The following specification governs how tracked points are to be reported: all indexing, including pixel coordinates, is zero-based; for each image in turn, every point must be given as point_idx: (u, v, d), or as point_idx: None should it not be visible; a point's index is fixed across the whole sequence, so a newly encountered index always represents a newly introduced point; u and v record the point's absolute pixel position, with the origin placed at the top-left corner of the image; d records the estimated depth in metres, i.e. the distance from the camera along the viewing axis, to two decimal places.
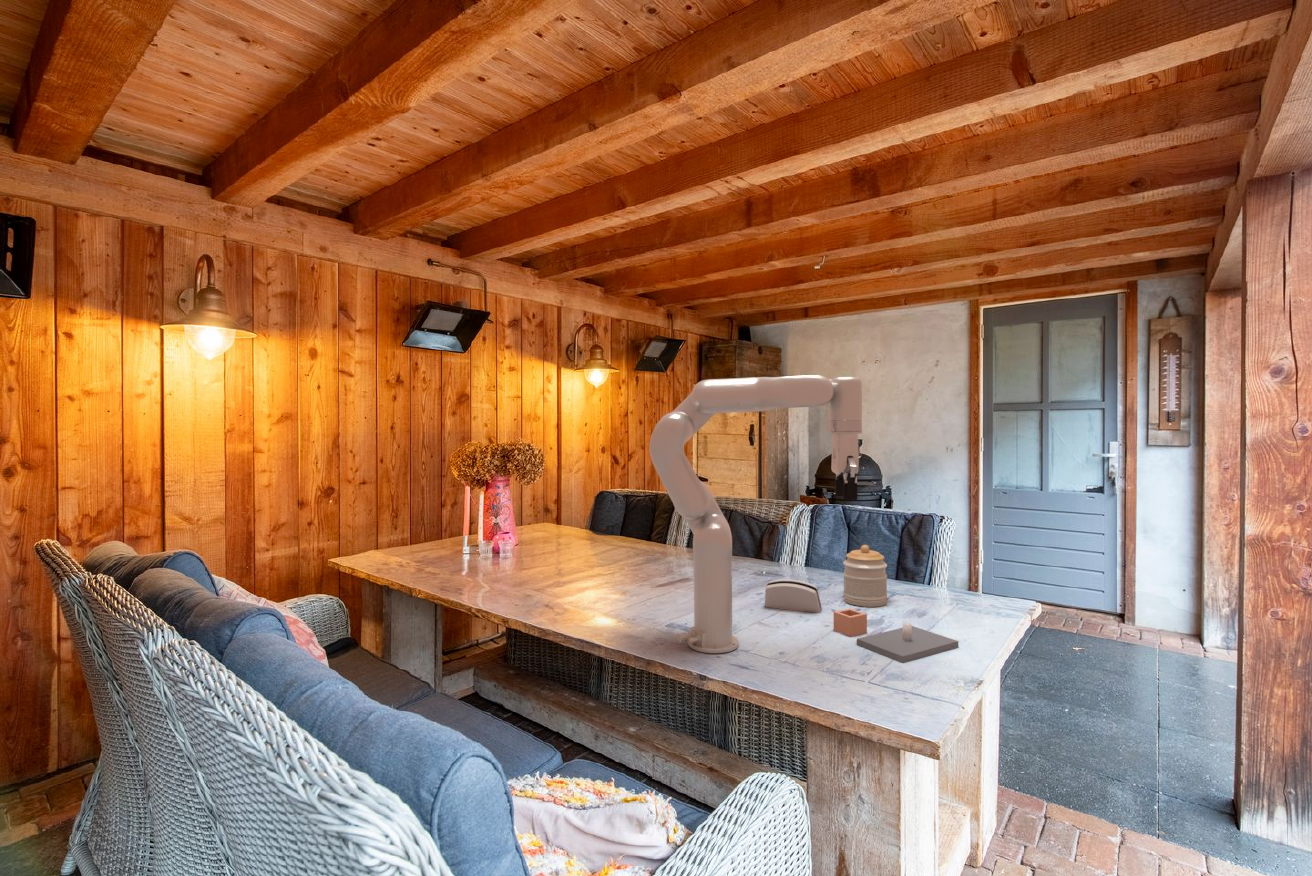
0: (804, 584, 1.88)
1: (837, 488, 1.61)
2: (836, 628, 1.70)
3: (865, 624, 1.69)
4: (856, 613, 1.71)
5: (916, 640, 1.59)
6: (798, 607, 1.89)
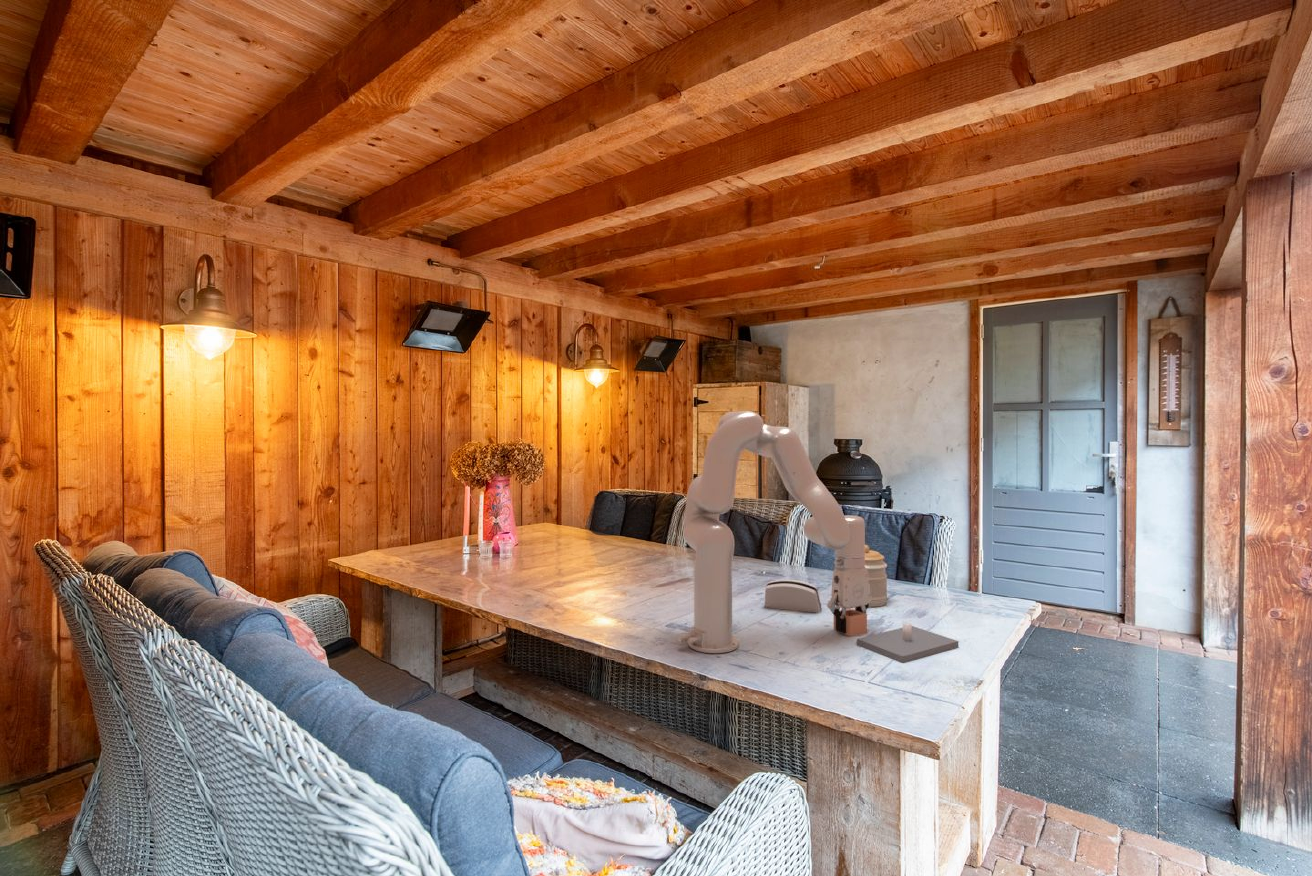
0: (804, 584, 1.88)
1: None
2: None
3: (865, 624, 1.69)
4: (856, 613, 1.71)
5: (916, 640, 1.59)
6: (798, 607, 1.89)
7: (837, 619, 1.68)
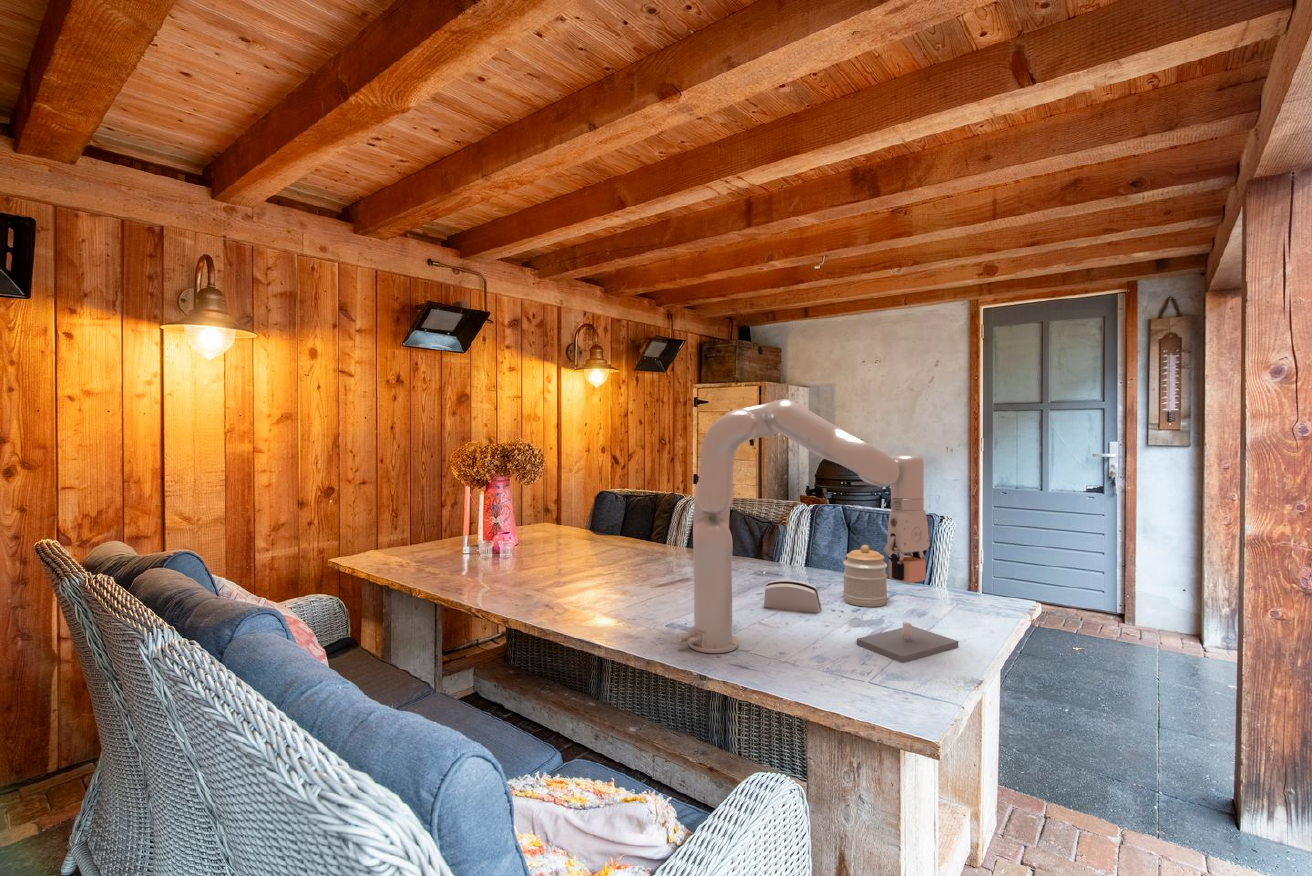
0: (803, 584, 1.88)
1: None
2: None
3: (924, 570, 1.57)
4: (913, 559, 1.59)
5: (916, 640, 1.59)
6: (798, 607, 1.89)
7: (894, 565, 1.57)
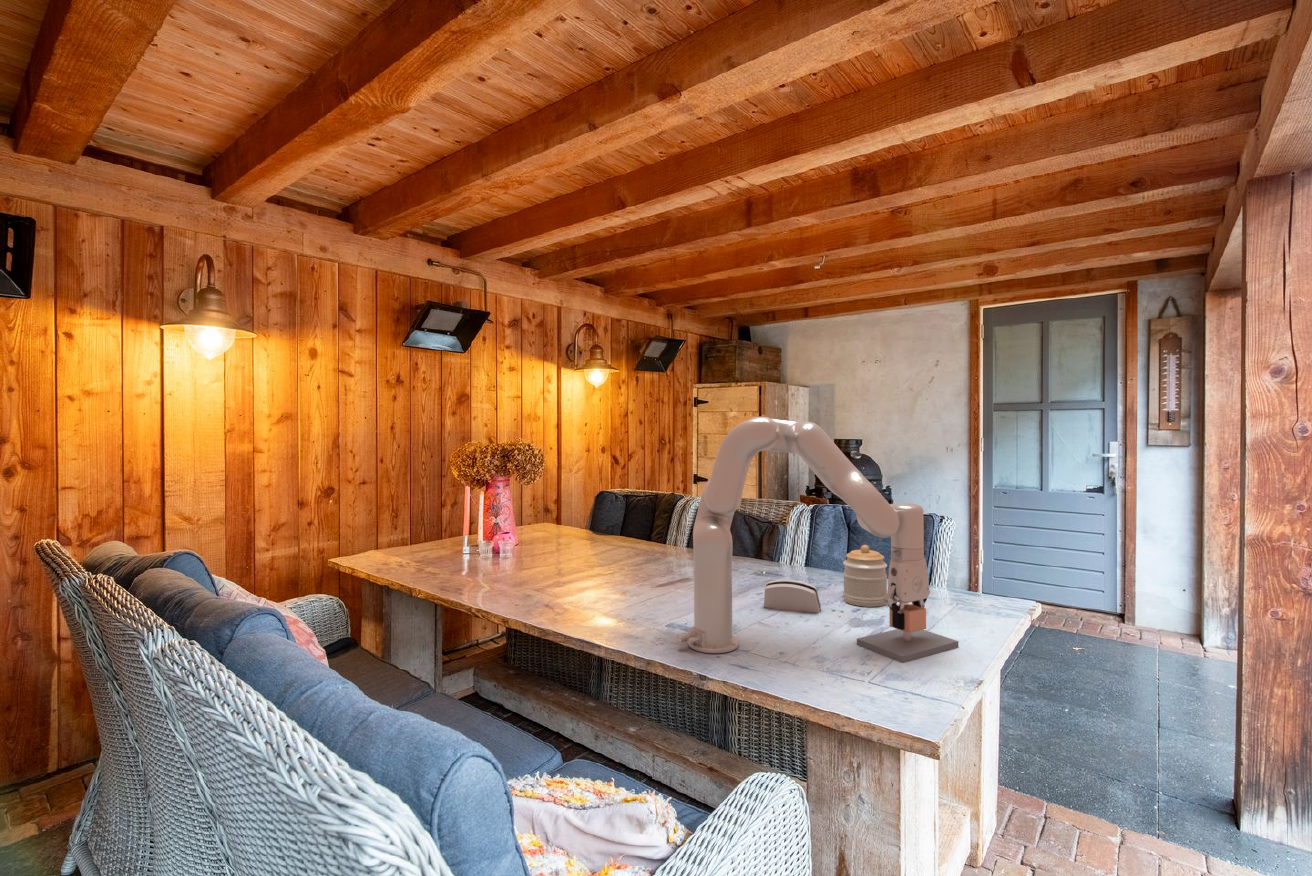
0: (803, 584, 1.88)
1: None
2: None
3: (924, 619, 1.57)
4: (914, 608, 1.59)
5: (916, 640, 1.59)
6: (797, 607, 1.89)
7: (894, 614, 1.57)
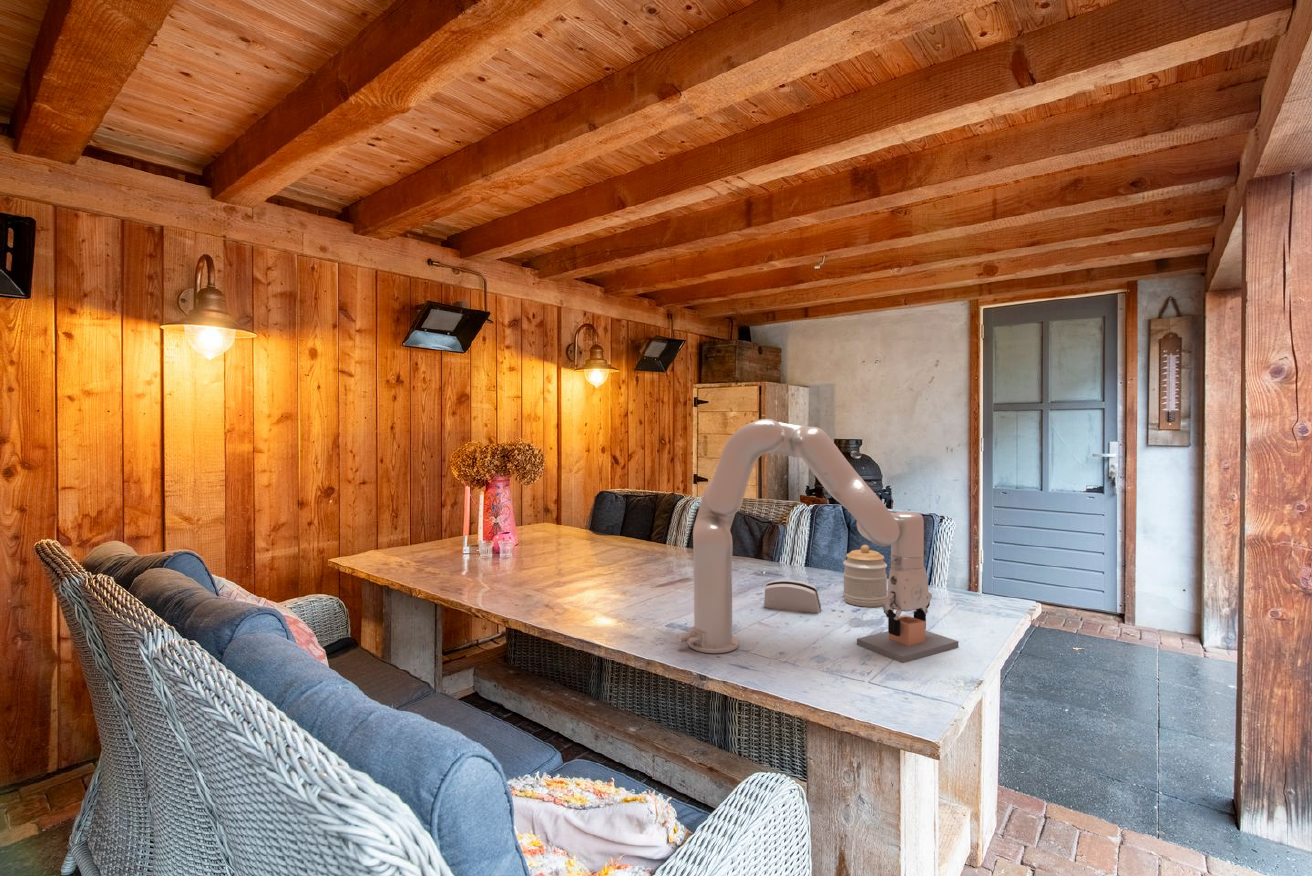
0: (803, 585, 1.88)
1: None
2: (891, 636, 1.59)
3: (923, 632, 1.58)
4: (913, 620, 1.60)
5: None
6: (798, 608, 1.89)
7: (890, 621, 1.56)
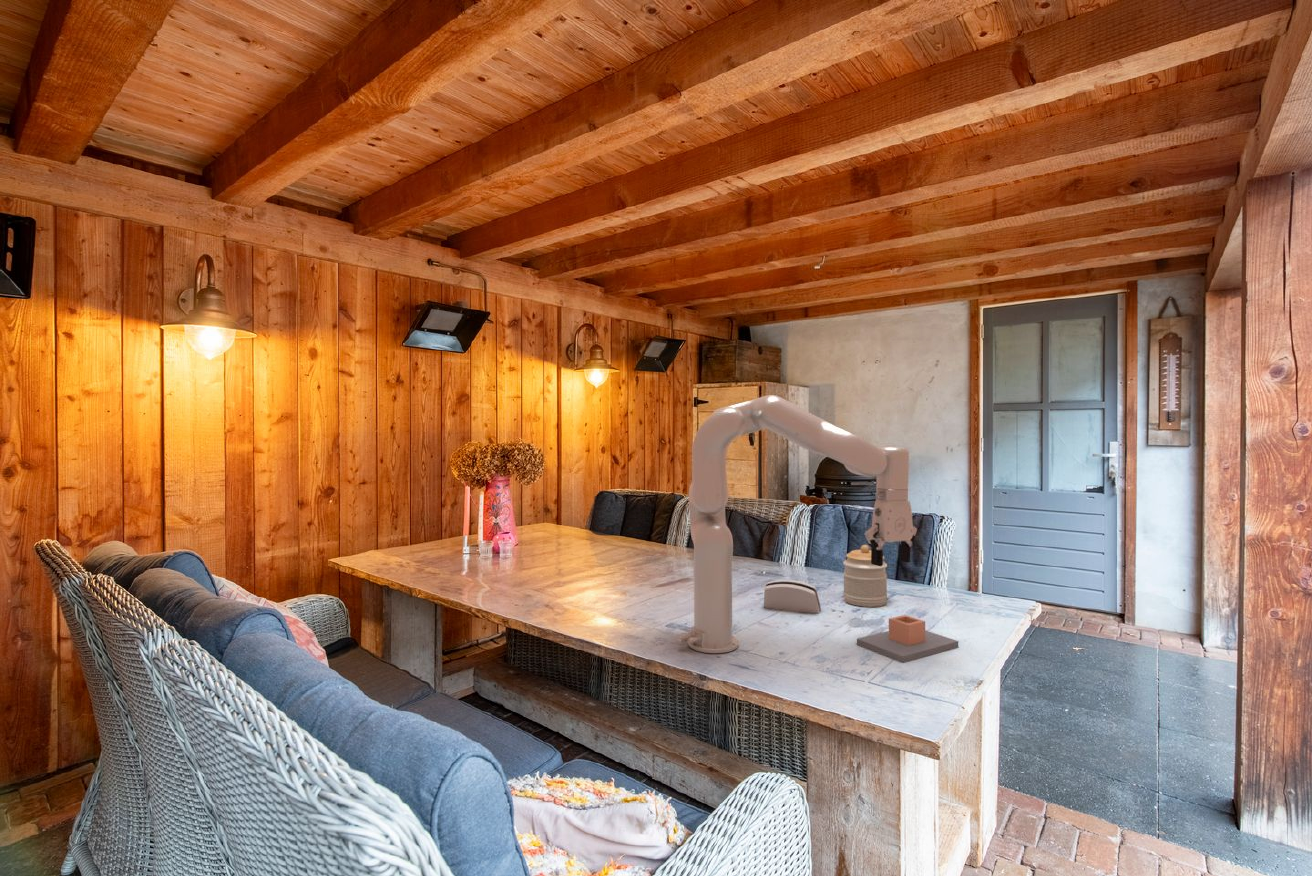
0: (803, 585, 1.88)
1: None
2: (891, 636, 1.59)
3: (923, 632, 1.58)
4: (913, 620, 1.60)
5: None
6: (797, 608, 1.89)
7: (873, 551, 1.59)
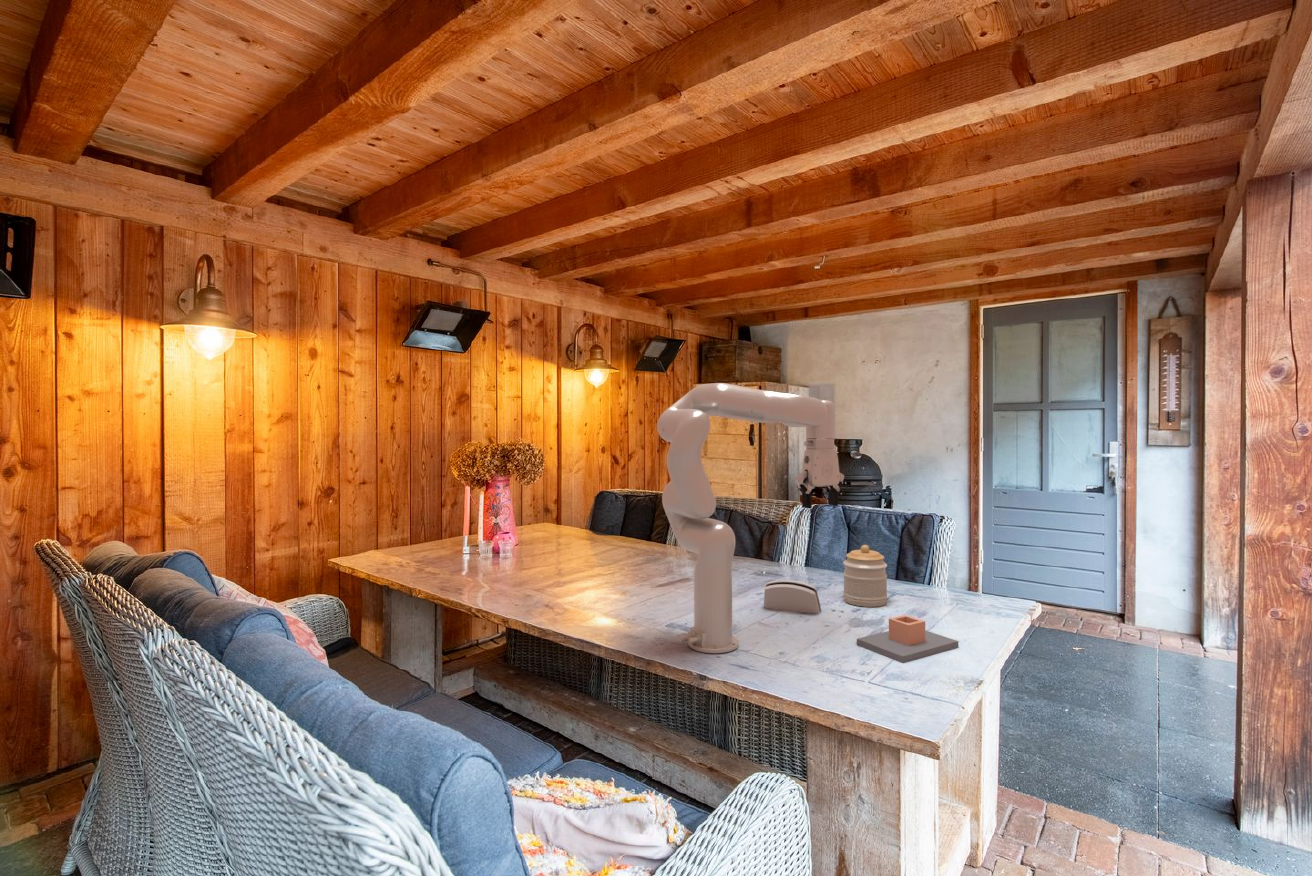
0: (803, 585, 1.87)
1: None
2: (891, 636, 1.59)
3: (923, 632, 1.58)
4: (913, 620, 1.60)
5: None
6: (797, 608, 1.88)
7: (803, 495, 1.75)
